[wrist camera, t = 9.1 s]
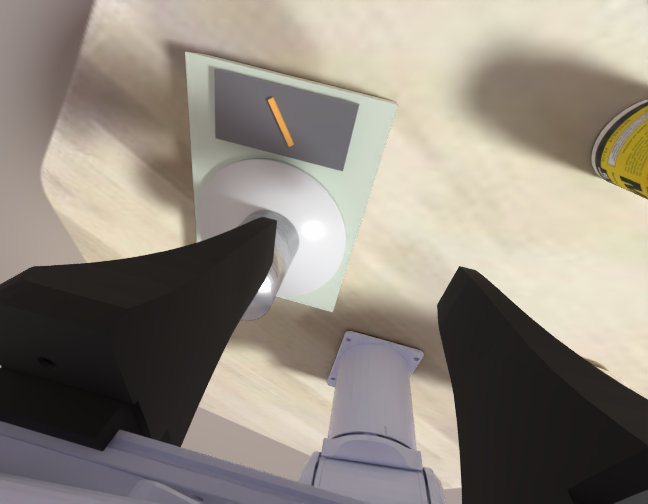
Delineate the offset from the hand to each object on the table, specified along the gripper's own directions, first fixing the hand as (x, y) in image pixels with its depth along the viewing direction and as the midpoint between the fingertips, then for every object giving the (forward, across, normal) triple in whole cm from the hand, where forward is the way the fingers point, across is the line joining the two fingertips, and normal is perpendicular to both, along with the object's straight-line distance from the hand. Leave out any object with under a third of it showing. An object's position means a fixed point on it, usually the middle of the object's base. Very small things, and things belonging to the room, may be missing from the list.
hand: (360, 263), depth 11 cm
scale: (+10, +6, +3) cm, 12 cm away
